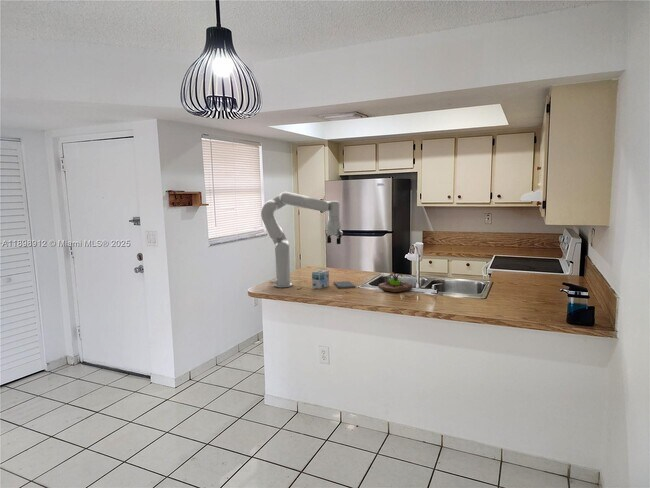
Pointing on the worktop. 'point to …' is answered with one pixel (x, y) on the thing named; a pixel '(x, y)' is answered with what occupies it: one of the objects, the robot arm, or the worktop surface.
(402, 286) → the plant
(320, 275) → the light bulb box
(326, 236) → the robot arm
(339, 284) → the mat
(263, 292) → the worktop surface
